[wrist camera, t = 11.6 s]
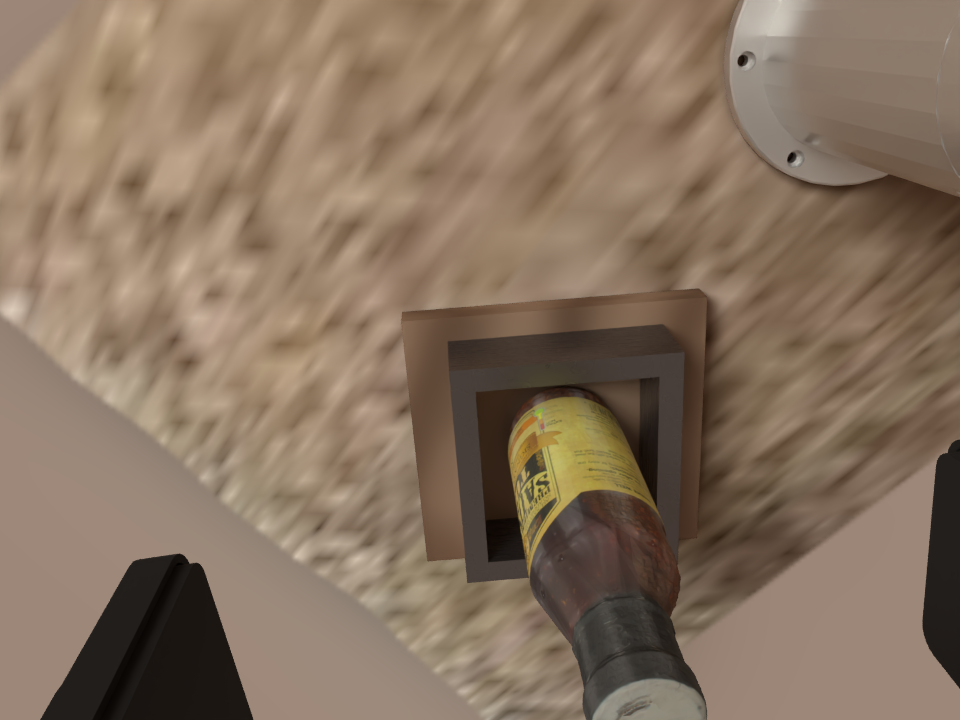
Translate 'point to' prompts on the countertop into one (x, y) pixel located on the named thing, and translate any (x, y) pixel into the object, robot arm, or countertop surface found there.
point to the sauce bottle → (600, 557)
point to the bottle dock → (534, 368)
